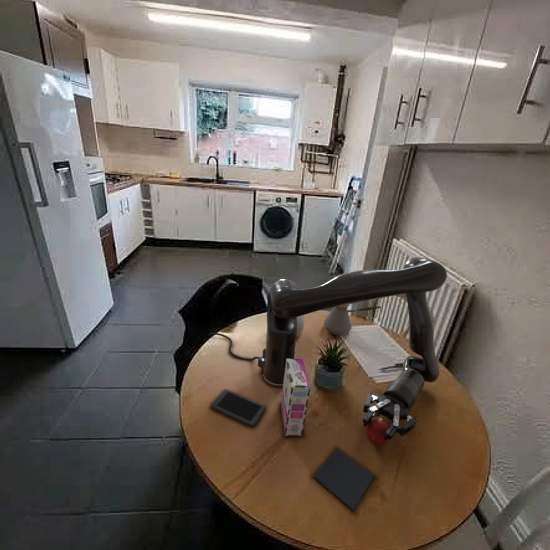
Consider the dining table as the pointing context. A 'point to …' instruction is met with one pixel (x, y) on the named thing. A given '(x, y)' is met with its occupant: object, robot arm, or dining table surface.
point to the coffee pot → (341, 319)
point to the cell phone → (238, 407)
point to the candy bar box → (294, 397)
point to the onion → (376, 431)
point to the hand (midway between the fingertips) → (375, 430)
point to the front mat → (344, 478)
